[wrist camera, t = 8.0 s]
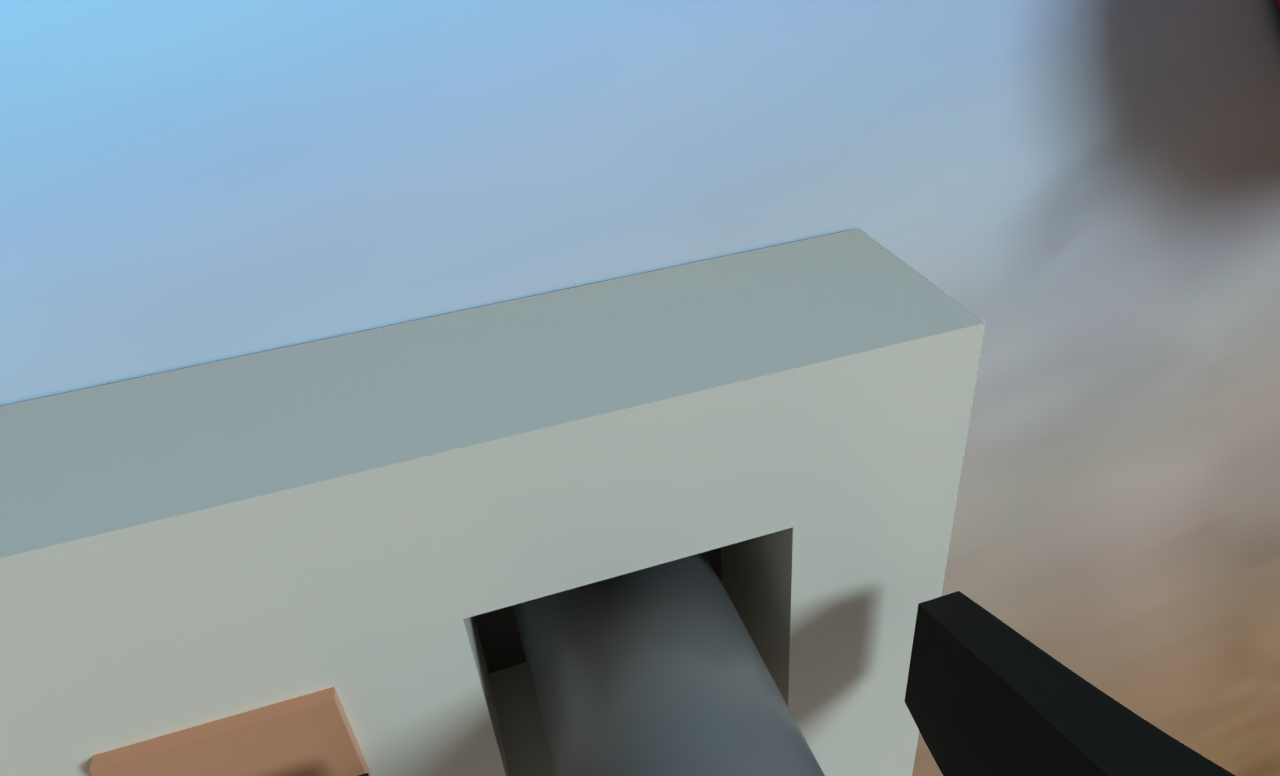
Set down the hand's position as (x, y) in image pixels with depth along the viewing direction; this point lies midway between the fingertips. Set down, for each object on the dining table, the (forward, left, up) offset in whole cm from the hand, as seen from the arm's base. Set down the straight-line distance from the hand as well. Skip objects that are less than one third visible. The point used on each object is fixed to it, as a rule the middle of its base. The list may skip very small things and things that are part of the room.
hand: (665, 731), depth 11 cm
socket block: (-4, +2, -4) cm, 6 cm away
